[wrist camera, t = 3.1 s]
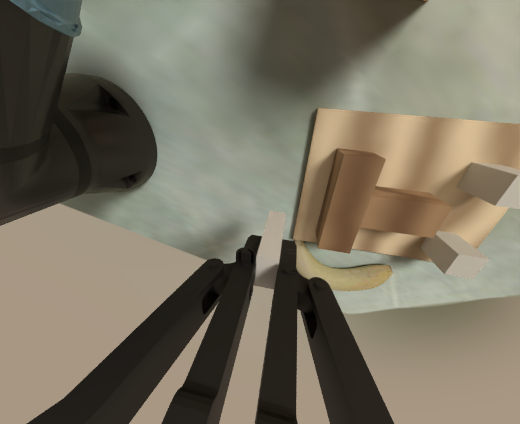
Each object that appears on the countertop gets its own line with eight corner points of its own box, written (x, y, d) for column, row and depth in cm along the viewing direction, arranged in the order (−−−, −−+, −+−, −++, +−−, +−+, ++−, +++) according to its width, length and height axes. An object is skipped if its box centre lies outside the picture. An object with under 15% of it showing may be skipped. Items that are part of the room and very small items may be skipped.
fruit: (367, 289, 33) (373, 306, 31) (284, 265, 34) (283, 280, 31) (388, 259, 30) (398, 275, 27) (296, 234, 31) (296, 246, 28)
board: (293, 235, 30) (293, 239, 30) (317, 108, 22) (318, 108, 21) (457, 261, 28) (462, 266, 27) (559, 127, 19) (571, 128, 18)
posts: (420, 247, 27) (444, 274, 22) (471, 162, 21) (517, 175, 17) (443, 251, 26) (472, 278, 22) (502, 165, 21) (557, 179, 16)
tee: (315, 231, 28) (317, 248, 25) (336, 148, 23) (344, 154, 19) (401, 244, 27) (416, 264, 23) (447, 159, 21) (476, 168, 18)
